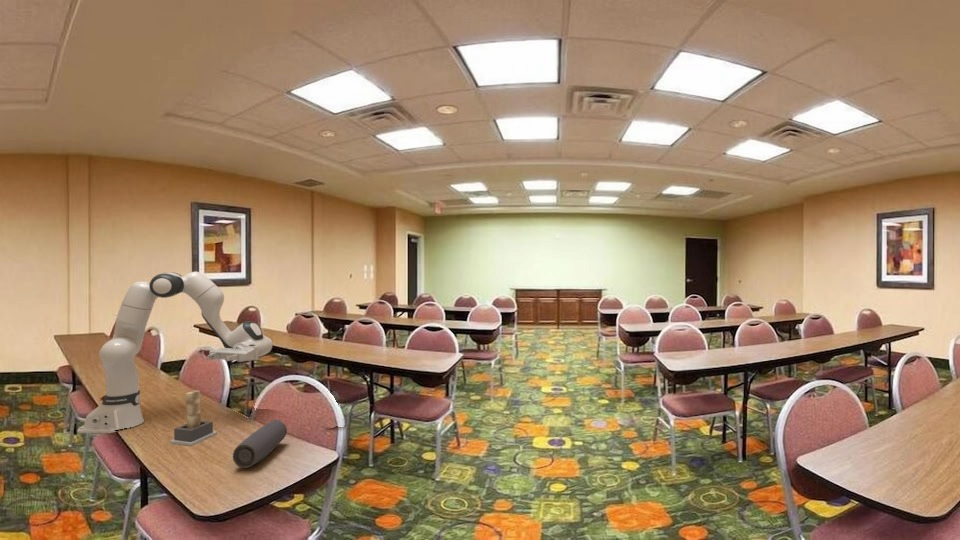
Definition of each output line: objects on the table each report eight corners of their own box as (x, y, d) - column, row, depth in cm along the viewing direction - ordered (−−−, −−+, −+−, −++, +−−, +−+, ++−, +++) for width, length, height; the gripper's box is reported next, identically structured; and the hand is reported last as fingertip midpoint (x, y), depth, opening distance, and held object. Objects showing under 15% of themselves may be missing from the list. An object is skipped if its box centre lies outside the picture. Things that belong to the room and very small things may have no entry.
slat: (195, 433, 182) (194, 390, 182) (200, 434, 181) (199, 390, 181) (187, 437, 178) (186, 393, 178) (192, 438, 178) (191, 393, 177)
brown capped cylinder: (334, 430, 187) (333, 383, 187) (318, 429, 189) (318, 382, 188) (343, 424, 195) (342, 379, 194) (328, 423, 196) (327, 378, 195)
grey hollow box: (196, 431, 187) (196, 418, 187) (216, 434, 184) (216, 421, 184) (170, 443, 175) (169, 429, 175) (191, 446, 173) (190, 432, 173)
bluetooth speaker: (265, 443, 175) (264, 418, 175) (288, 443, 175) (288, 418, 174) (231, 471, 152) (230, 442, 152) (257, 471, 152) (257, 443, 152)
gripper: (224, 343, 207) (198, 349, 193) (260, 345, 201) (236, 352, 188) (224, 357, 207) (198, 364, 194) (261, 359, 201) (236, 367, 188)
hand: (217, 358), depth 191 cm, fingers open, 8 cm apart
